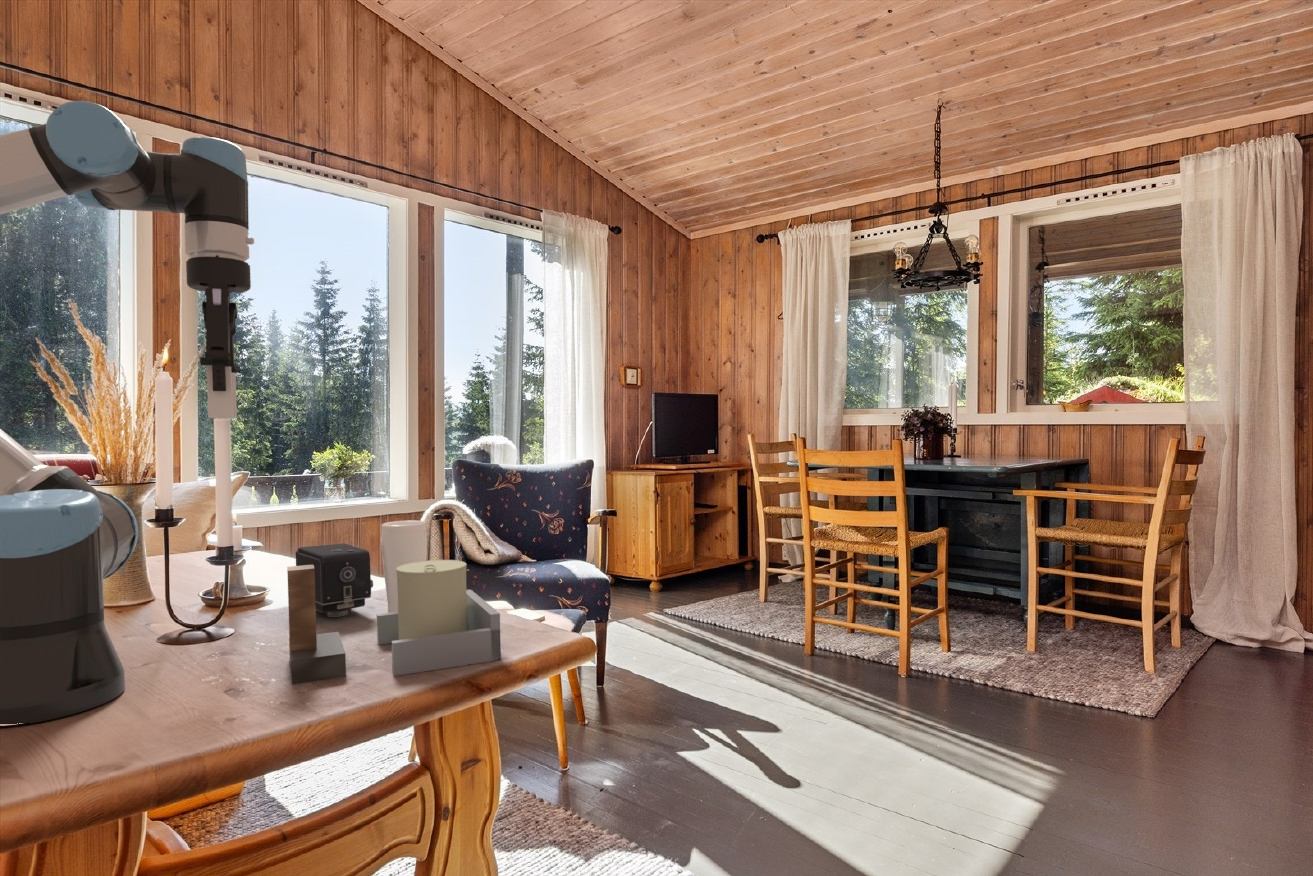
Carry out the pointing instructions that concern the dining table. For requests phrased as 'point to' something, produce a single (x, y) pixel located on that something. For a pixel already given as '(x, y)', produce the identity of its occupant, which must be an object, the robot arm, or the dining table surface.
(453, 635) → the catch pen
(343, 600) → the camera
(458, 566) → the can
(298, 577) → the scraper
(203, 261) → the robot arm
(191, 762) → the dining table surface
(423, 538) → the drinking glass
